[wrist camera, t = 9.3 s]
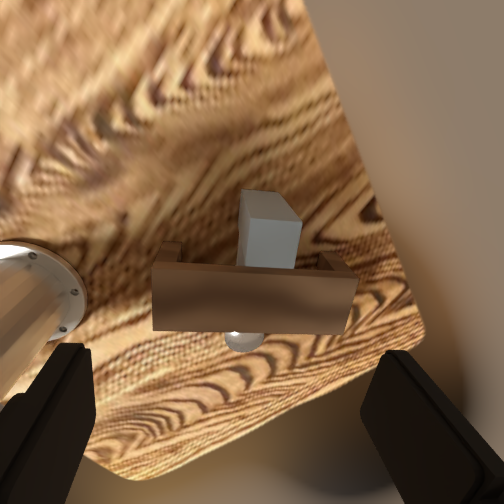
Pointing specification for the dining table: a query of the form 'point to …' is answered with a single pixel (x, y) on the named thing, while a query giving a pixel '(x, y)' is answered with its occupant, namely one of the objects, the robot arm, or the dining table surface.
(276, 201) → the grey block
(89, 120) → the dining table surface
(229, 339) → the token
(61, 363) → the robot arm
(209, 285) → the stand
